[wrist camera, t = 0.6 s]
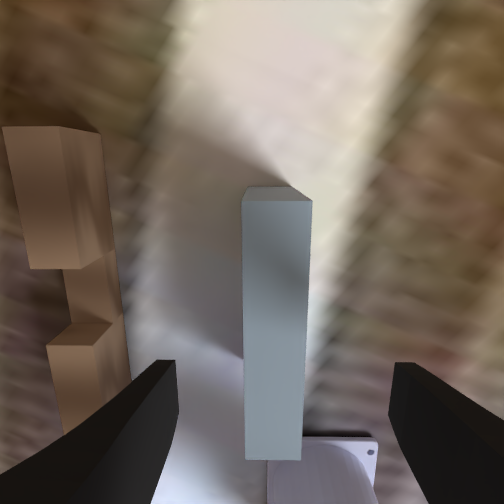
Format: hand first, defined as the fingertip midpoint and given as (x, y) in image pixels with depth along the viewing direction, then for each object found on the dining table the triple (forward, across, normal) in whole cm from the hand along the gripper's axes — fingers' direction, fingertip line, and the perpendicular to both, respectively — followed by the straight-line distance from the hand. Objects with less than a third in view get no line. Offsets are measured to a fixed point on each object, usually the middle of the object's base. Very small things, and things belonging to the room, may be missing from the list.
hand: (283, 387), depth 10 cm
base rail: (+10, +11, 0) cm, 15 cm away
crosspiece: (+10, 0, 0) cm, 10 cm away
